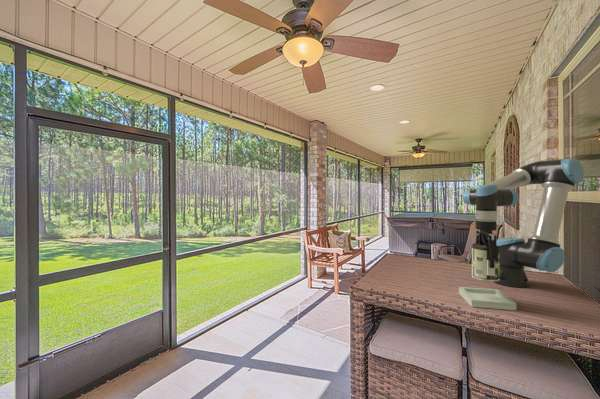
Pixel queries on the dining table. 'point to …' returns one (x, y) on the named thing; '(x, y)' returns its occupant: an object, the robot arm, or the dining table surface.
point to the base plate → (487, 298)
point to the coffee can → (483, 263)
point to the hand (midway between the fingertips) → (485, 271)
